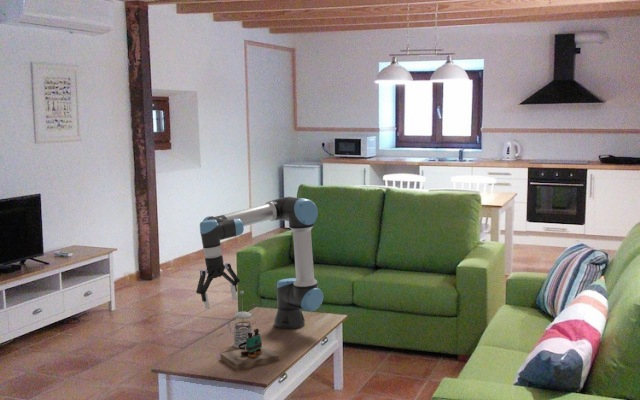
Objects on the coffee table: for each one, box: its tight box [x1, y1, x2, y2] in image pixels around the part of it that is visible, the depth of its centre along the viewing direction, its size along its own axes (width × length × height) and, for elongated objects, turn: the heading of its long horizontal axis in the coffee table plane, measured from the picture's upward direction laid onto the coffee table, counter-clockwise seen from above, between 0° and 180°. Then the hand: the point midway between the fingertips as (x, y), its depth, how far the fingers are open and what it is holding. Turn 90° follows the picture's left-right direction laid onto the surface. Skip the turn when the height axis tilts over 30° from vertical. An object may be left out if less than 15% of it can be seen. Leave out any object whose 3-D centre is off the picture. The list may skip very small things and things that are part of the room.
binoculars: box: [238, 328, 263, 357], centre depth 292 cm, size 9×11×10 cm
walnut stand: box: [219, 344, 281, 371], centre depth 292 cm, size 20×16×2 cm
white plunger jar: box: [227, 290, 253, 349], centre depth 311 cm, size 10×12×25 cm
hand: (221, 304), depth 295 cm, fingers open, 13 cm apart
